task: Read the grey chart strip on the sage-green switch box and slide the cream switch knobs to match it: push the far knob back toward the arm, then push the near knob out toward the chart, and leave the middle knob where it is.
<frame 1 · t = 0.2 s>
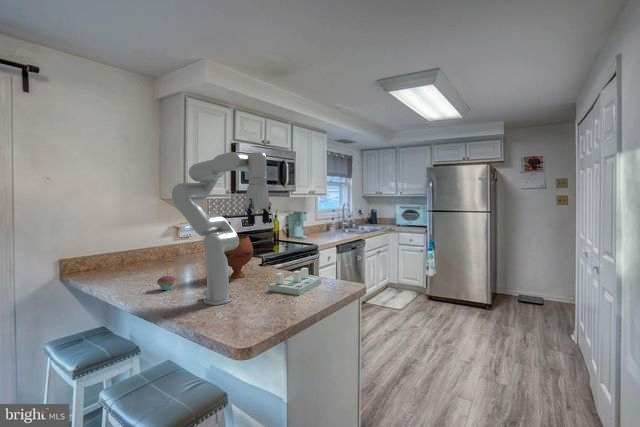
hand: (258, 223, 139), 37 cm above the worktop, tool pointing down, fingers open, 9 cm apart
switch b: (297, 276, 171), point 6 cm above the worktop, slide at 6.0 cm
switch a: (279, 278, 167), point 6 cm above the worktop, slide at 0.0 cm
switch box: (295, 287, 172), on the worktop
goblet: (237, 277, 195), on the worktop
cupcake: (166, 290, 171), on the worktop
switch c: (304, 273, 178), point 6 cm above the worktop, slide at 6.0 cm
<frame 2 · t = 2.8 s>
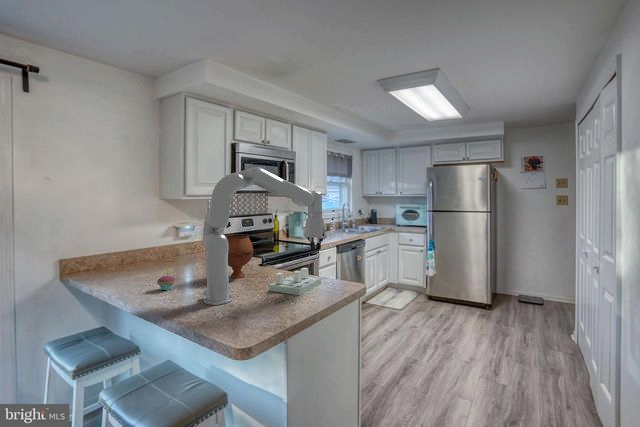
hand: (315, 249, 174), 19 cm above the worktop, tool pointing down, fingers closed
nothing on the worktop moved.
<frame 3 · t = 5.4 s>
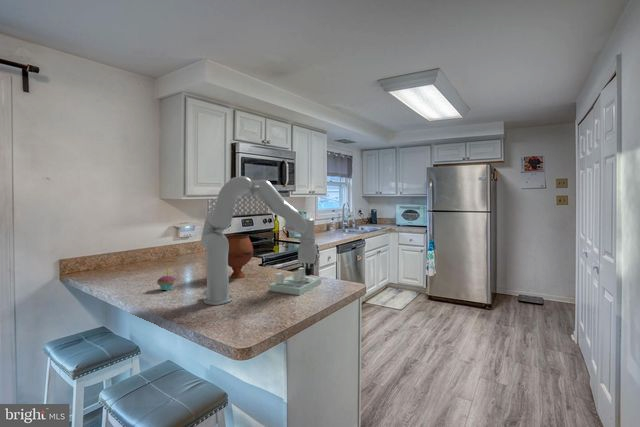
hand: (308, 275, 177), 5 cm above the worktop, tool pointing down, fingers closed
switch c: (302, 272, 178), point 6 cm above the worktop, slide at 4.4 cm, touching gripper
everything else where it was.
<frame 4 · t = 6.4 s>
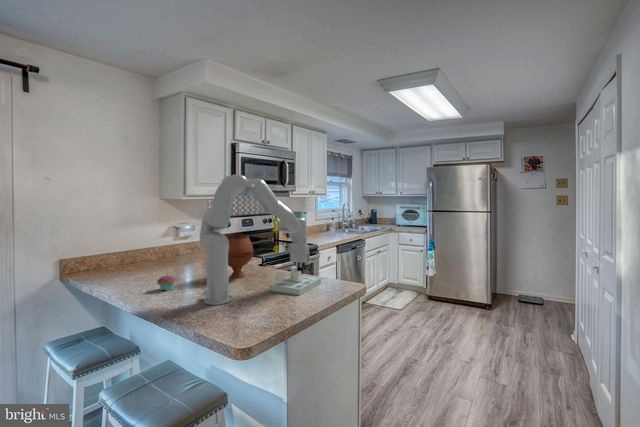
hand: (300, 274, 179), 5 cm above the worktop, tool pointing down, fingers closed
switch c: (294, 271, 181), point 6 cm above the worktop, slide at -0.5 cm, touching gripper
everything else where it was.
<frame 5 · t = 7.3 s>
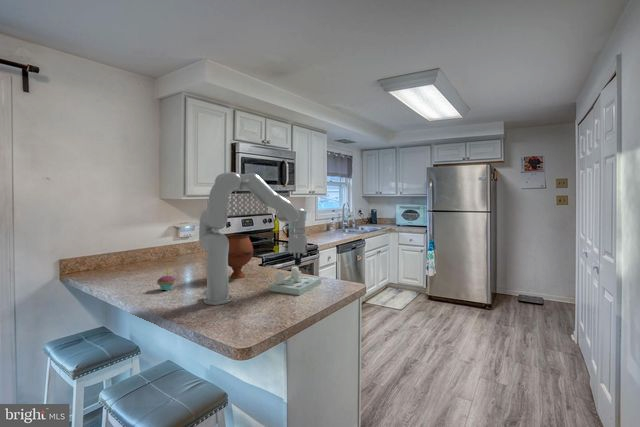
hand: (297, 264, 178), 10 cm above the worktop, tool pointing down, fingers closed
switch c: (295, 272, 180), point 6 cm above the worktop, slide at -0.1 cm
everything else where it was.
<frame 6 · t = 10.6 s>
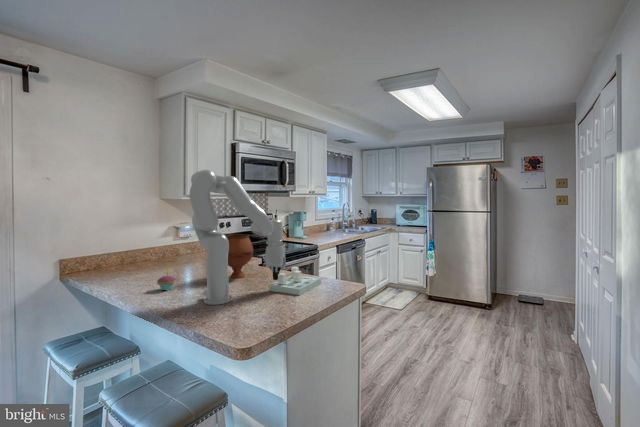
hand: (276, 279, 168), 5 cm above the worktop, tool pointing down, fingers closed
switch a: (282, 278, 166), point 6 cm above the worktop, slide at 1.5 cm, touching gripper
everything else where it was.
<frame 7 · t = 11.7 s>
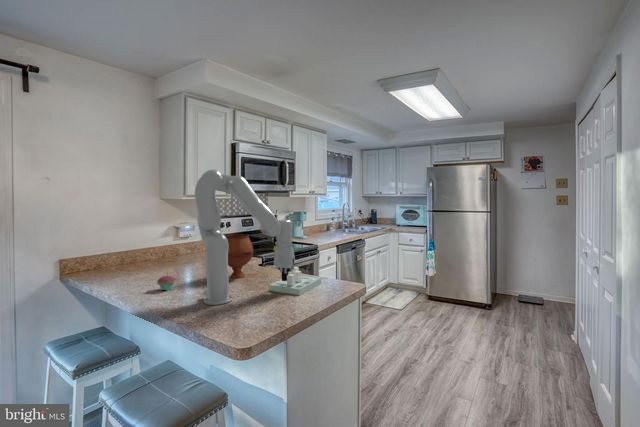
hand: (284, 280, 166), 5 cm above the worktop, tool pointing down, fingers closed
switch a: (291, 279, 164), point 6 cm above the worktop, slide at 6.9 cm, touching gripper
everything else where it was.
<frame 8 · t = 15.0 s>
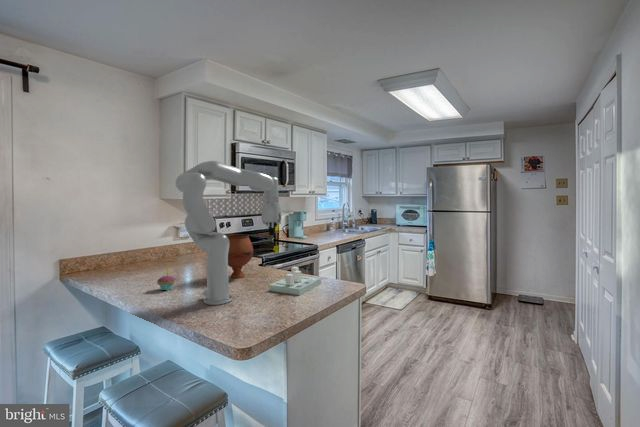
hand: (272, 235, 174), 27 cm above the worktop, tool pointing down, fingers closed
switch a: (289, 279, 164), point 6 cm above the worktop, slide at 6.1 cm
everything else where it was.
at the end: switch a slide at 6.1 cm; switch c slide at -0.1 cm; switch b slide at 6.0 cm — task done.
